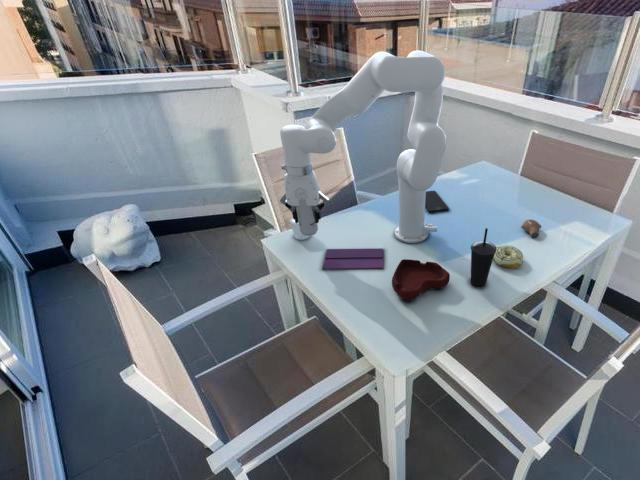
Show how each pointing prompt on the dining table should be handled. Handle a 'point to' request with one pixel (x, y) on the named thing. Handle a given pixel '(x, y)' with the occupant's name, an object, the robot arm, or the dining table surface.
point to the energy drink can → (306, 218)
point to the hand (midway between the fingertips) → (307, 220)
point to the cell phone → (434, 202)
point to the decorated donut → (508, 256)
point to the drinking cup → (481, 261)
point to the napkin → (353, 259)
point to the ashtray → (418, 278)
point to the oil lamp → (531, 227)
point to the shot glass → (297, 230)
